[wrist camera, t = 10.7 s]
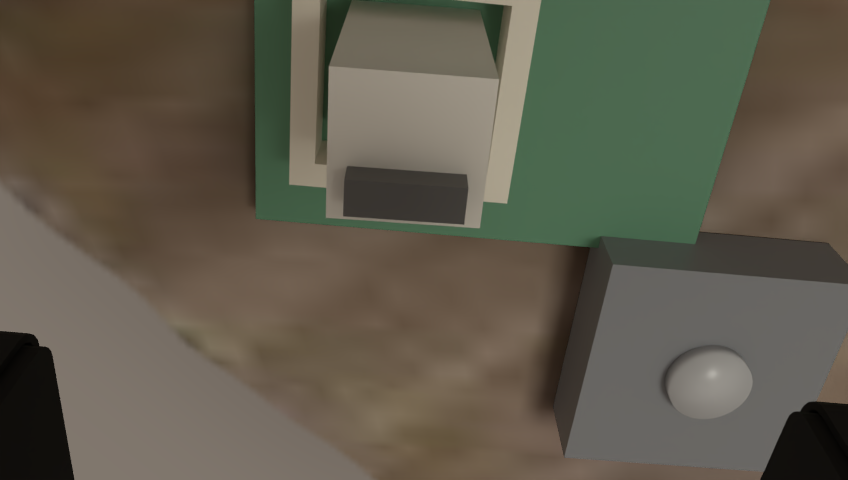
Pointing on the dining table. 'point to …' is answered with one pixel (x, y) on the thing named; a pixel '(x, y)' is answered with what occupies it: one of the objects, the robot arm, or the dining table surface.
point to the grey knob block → (698, 348)
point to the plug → (410, 115)
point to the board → (538, 114)
